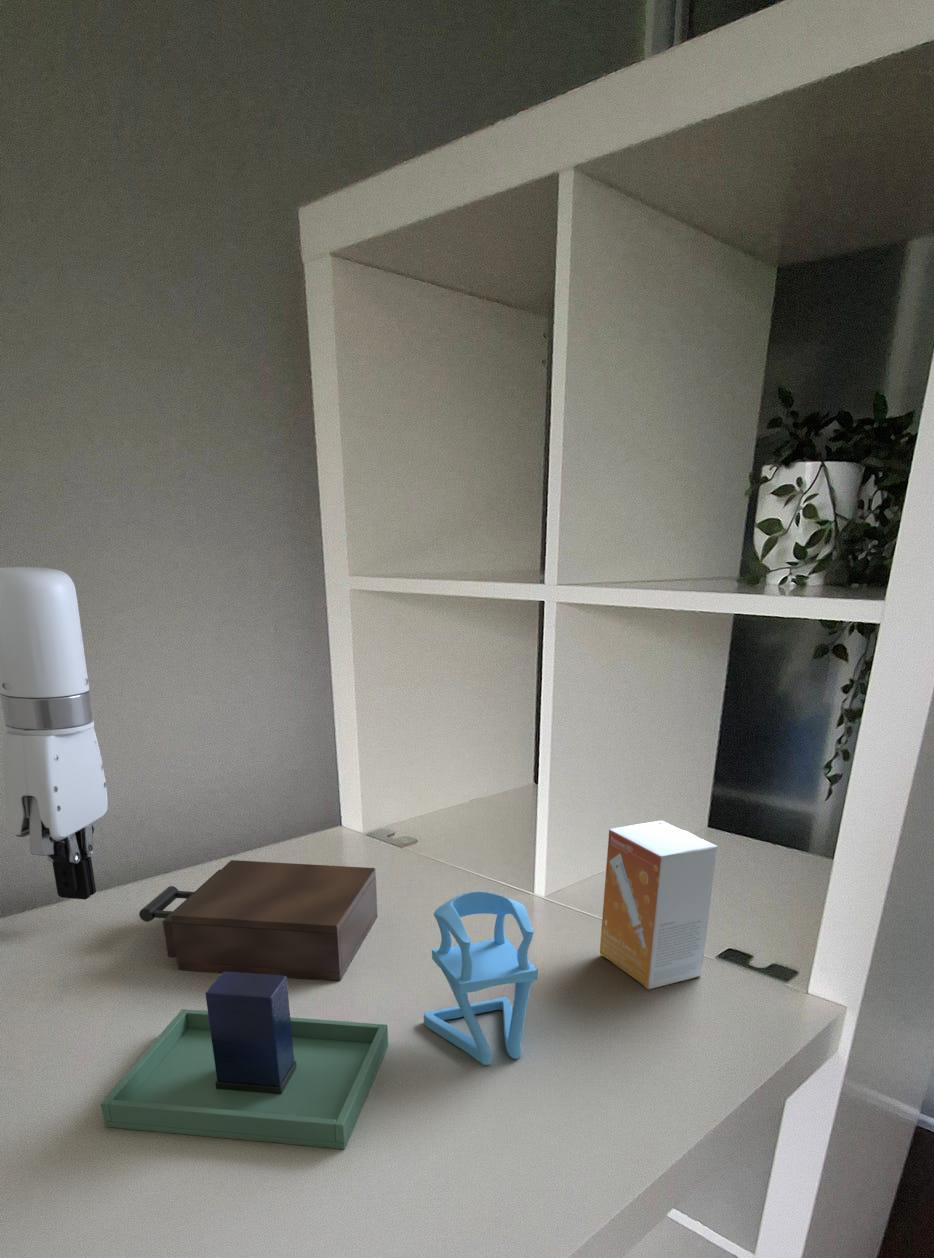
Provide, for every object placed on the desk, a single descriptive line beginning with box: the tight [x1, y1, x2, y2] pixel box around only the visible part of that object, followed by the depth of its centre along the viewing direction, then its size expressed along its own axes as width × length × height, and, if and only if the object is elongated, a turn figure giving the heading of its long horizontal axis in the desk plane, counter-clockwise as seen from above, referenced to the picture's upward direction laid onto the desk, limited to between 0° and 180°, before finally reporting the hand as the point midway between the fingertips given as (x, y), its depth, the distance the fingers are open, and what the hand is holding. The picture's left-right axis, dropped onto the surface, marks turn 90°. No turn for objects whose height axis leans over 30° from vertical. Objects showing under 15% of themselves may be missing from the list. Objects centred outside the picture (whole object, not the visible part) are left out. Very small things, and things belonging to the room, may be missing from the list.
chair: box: [423, 890, 539, 1066], centre depth 72 cm, size 8×8×12 cm
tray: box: [100, 1008, 389, 1150], centre depth 68 cm, size 17×13×2 cm
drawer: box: [138, 869, 221, 959], centre depth 90 cm, size 19×13×4 cm
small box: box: [599, 820, 718, 990], centre depth 83 cm, size 8×6×13 cm
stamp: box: [204, 971, 297, 1094], centre depth 66 cm, size 5×4×8 cm
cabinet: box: [171, 859, 378, 982], centre depth 89 cm, size 16×15×6 cm
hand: (77, 895), depth 91 cm, fingers closed
